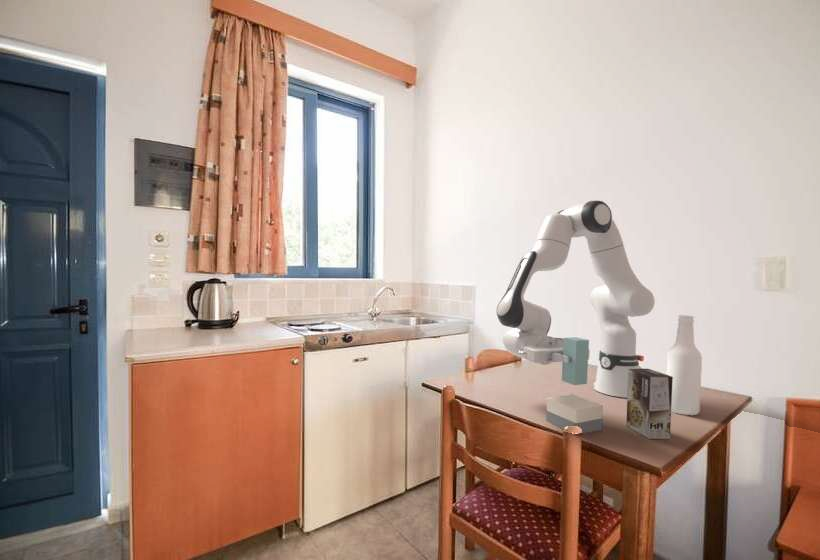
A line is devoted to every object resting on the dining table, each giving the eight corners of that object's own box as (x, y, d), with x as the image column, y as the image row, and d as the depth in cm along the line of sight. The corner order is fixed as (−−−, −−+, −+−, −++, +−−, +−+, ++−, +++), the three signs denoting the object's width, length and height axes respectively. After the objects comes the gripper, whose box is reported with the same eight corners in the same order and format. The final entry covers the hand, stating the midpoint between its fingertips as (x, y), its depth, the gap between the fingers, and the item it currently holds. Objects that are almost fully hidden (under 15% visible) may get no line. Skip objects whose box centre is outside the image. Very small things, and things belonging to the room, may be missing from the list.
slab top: (572, 406, 112) (572, 394, 112) (602, 418, 103) (602, 405, 102) (546, 410, 107) (547, 398, 107) (575, 423, 98) (576, 409, 98)
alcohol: (694, 418, 114) (699, 318, 113) (660, 409, 120) (665, 315, 120) (702, 412, 119) (707, 316, 119) (670, 404, 126) (674, 314, 126)
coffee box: (671, 439, 98) (674, 376, 98) (647, 439, 97) (650, 376, 97) (646, 425, 107) (649, 368, 107) (624, 425, 106) (627, 367, 106)
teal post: (574, 379, 108) (576, 337, 108) (586, 383, 104) (588, 340, 104) (561, 380, 106) (563, 337, 106) (574, 385, 102) (576, 340, 102)
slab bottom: (572, 418, 111) (573, 406, 111) (601, 431, 102) (602, 418, 102) (546, 422, 108) (546, 410, 108) (573, 436, 98) (574, 423, 98)
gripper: (515, 340, 113) (548, 349, 100) (567, 338, 121) (605, 346, 108) (514, 361, 113) (547, 373, 100) (566, 358, 121) (604, 368, 108)
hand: (577, 359), depth 104 cm, fingers closed on teal post, 4 cm apart
